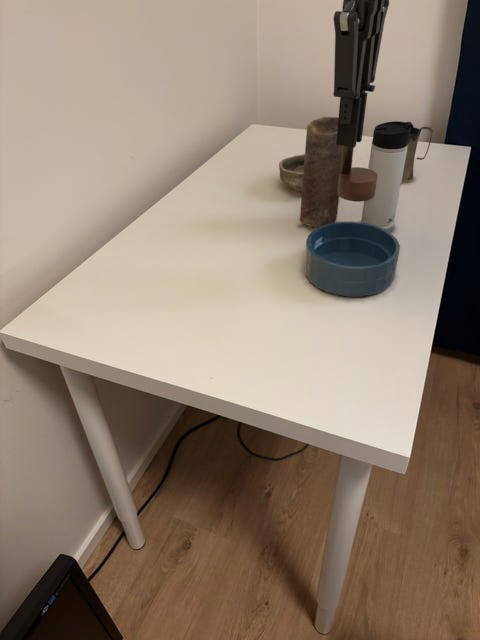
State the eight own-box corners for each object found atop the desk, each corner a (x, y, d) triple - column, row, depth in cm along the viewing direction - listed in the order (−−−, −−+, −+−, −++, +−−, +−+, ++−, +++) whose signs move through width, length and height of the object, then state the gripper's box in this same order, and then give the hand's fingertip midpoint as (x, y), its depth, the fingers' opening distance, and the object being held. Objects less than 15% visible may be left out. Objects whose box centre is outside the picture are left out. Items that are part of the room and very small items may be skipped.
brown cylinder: (344, 222, 99) (355, 120, 86) (323, 236, 95) (332, 132, 82) (313, 211, 103) (319, 113, 90) (292, 224, 99) (295, 123, 86)
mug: (385, 180, 113) (393, 128, 106) (390, 172, 117) (398, 120, 109) (420, 186, 110) (431, 132, 103) (424, 176, 114) (435, 124, 106)
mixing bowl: (404, 263, 86) (411, 233, 82) (376, 309, 76) (381, 278, 73) (325, 242, 93) (328, 214, 89) (289, 283, 83) (290, 253, 79)
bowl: (266, 193, 110) (266, 149, 104) (303, 166, 121) (304, 126, 115) (320, 207, 104) (323, 161, 98) (354, 177, 115) (359, 135, 109)
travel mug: (397, 234, 94) (418, 129, 81) (363, 235, 94) (378, 130, 82) (390, 219, 99) (408, 117, 86) (358, 219, 99) (371, 118, 86)
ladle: (379, 189, 74) (400, 61, 63) (367, 204, 71) (386, 71, 59) (345, 183, 77) (358, 58, 65) (331, 197, 73) (343, 67, 62)
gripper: (361, -68, 61) (343, 124, 76) (313, -62, 52) (303, 155, 67) (422, -70, 58) (390, 130, 73) (382, -64, 48) (355, 165, 64)
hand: (348, 142), depth 70 cm, fingers closed on ladle, 2 cm apart
